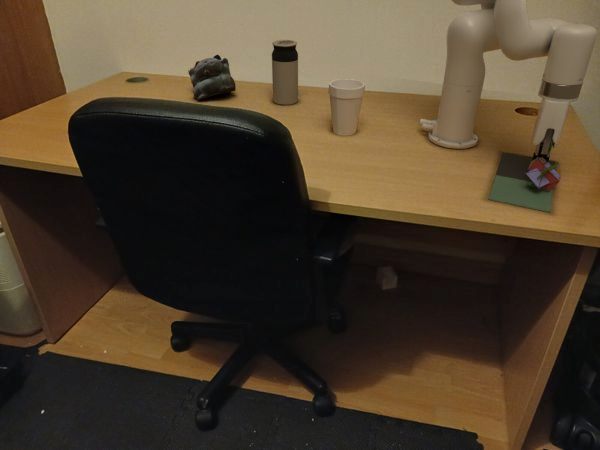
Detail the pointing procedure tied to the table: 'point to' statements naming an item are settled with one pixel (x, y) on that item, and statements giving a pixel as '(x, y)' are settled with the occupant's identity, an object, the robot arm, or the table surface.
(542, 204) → the desk pad
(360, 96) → the foam cup
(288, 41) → the travel mug
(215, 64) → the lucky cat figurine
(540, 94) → the robot arm
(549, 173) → the geometric puzzle
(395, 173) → the table surface
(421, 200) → the table surface
